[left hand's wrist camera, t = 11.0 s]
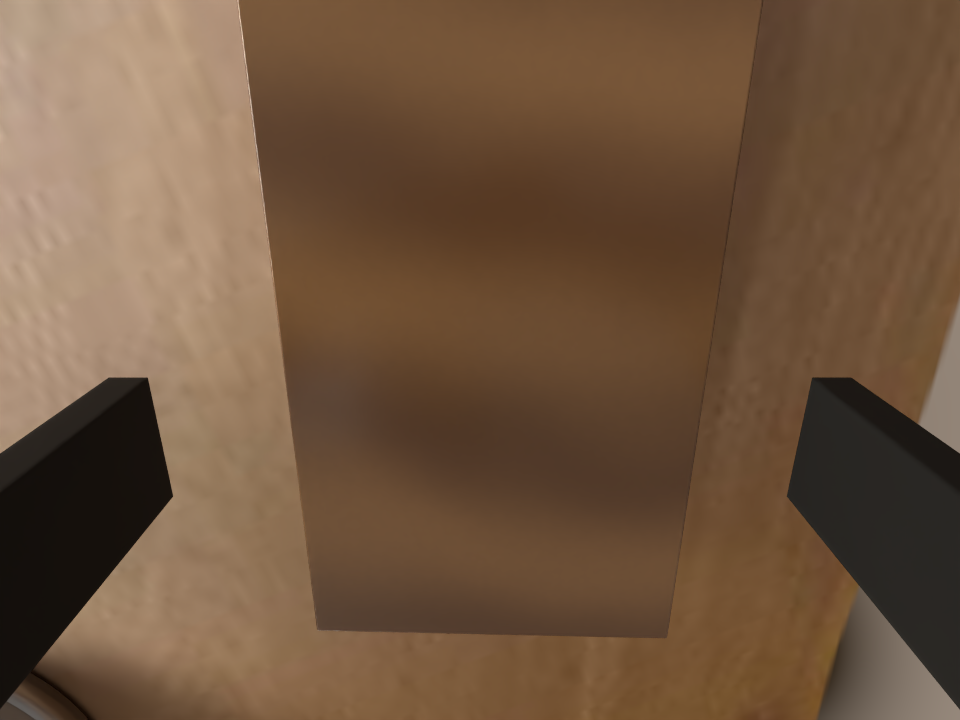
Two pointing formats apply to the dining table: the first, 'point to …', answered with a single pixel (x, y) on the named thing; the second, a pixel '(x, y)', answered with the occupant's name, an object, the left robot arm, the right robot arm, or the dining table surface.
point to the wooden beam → (496, 295)
